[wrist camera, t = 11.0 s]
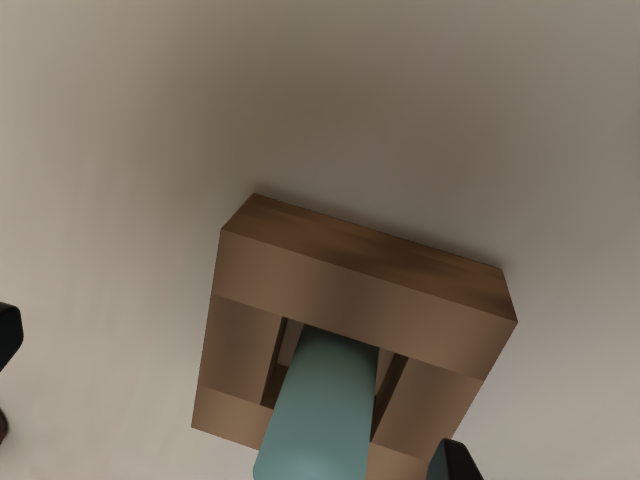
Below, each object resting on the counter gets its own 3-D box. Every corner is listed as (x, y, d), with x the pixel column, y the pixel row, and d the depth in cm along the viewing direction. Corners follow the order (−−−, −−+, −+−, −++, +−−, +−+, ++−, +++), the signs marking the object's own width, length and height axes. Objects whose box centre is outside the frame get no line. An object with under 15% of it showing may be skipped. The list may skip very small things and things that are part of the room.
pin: (367, 380, 24) (347, 533, 17) (294, 357, 24) (245, 499, 17) (390, 321, 22) (377, 467, 15) (311, 297, 22) (263, 430, 15)
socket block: (501, 269, 21) (518, 321, 18) (414, 438, 27) (413, 503, 23) (253, 193, 22) (221, 228, 18) (220, 373, 27) (191, 427, 24)
